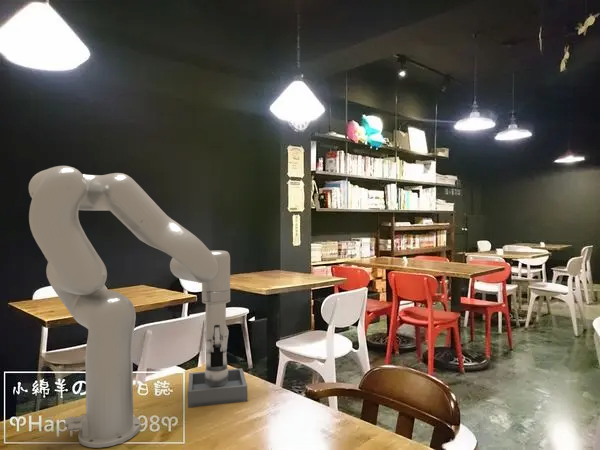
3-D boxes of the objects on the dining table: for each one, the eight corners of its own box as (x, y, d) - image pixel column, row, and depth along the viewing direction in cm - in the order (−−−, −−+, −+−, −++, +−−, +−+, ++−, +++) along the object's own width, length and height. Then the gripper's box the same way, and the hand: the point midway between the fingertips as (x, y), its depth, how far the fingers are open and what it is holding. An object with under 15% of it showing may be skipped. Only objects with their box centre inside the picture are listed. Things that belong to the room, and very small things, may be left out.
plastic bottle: (220, 378, 116) (220, 308, 116) (233, 386, 111) (233, 312, 111) (199, 385, 112) (199, 312, 112) (212, 392, 107) (212, 316, 107)
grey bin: (188, 407, 104) (187, 391, 104) (189, 387, 116) (189, 373, 116) (247, 401, 107) (247, 385, 107) (242, 381, 120) (242, 368, 120)
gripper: (201, 291, 119) (202, 353, 119) (202, 303, 102) (202, 375, 102) (228, 290, 121) (228, 351, 121) (232, 301, 104) (232, 372, 104)
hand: (216, 361), depth 112 cm, fingers closed on plastic bottle, 5 cm apart
